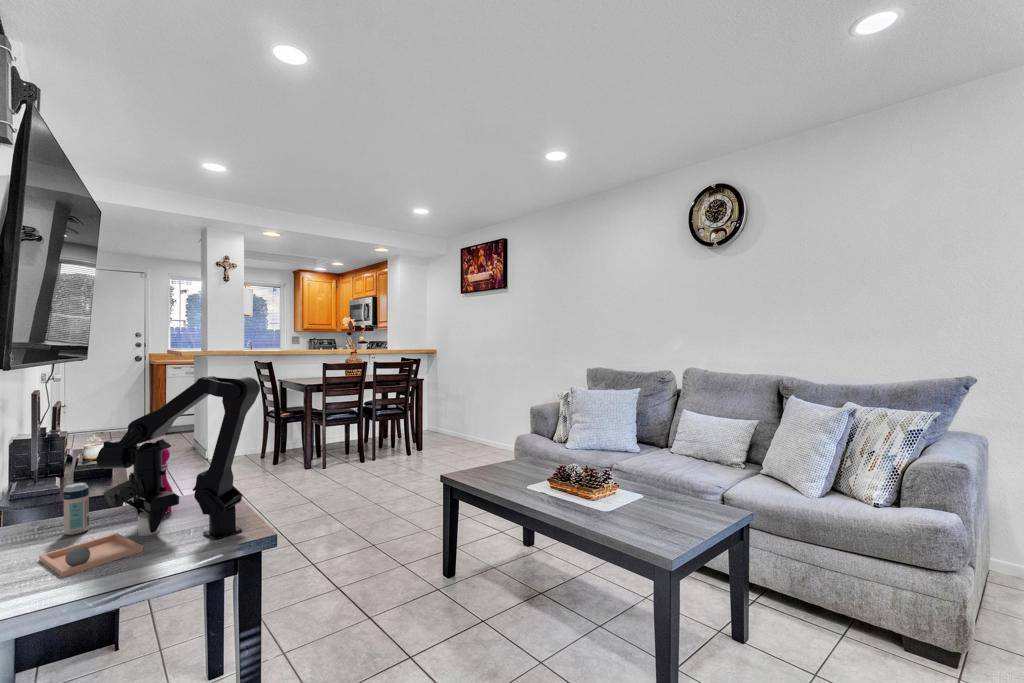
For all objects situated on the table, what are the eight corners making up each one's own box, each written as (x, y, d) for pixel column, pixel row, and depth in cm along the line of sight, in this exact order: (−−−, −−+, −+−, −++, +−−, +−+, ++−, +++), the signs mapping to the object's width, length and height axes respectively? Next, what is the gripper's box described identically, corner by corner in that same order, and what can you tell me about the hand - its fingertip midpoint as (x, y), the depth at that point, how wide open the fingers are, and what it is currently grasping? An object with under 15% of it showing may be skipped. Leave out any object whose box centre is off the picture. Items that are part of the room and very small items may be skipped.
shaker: (163, 533, 123) (162, 510, 122) (142, 539, 119) (142, 516, 119) (155, 529, 125) (154, 507, 125) (134, 535, 121) (134, 512, 121)
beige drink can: (81, 527, 126) (80, 481, 126) (93, 529, 125) (93, 483, 124) (59, 534, 122) (58, 486, 121) (71, 537, 120) (70, 488, 120)
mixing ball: (93, 564, 105) (93, 545, 105) (69, 572, 102) (69, 552, 101) (86, 559, 107) (86, 541, 107) (62, 567, 104) (62, 548, 104)
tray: (143, 553, 111) (143, 546, 111) (62, 579, 99) (62, 571, 99) (117, 539, 119) (117, 532, 119) (39, 562, 107) (39, 555, 107)
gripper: (92, 470, 120) (93, 533, 120) (125, 482, 110) (126, 551, 110) (145, 459, 129) (146, 518, 129) (179, 470, 119) (181, 533, 119)
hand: (148, 530), depth 122 cm, fingers closed on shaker, 4 cm apart
